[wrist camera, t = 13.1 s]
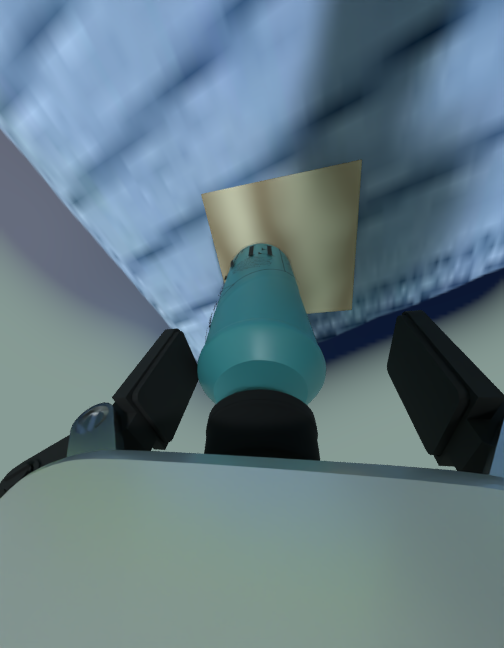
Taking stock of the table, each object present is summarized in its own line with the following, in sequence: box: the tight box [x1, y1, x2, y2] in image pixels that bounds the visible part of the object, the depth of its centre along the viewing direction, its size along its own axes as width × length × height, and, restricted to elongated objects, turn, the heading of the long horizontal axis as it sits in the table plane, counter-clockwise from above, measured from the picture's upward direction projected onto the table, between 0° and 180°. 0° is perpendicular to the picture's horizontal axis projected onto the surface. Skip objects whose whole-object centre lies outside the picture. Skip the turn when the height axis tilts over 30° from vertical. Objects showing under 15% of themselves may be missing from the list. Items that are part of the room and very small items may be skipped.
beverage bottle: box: [197, 242, 326, 461], centre depth 15 cm, size 6×7×20 cm
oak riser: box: [201, 160, 362, 314], centre depth 25 cm, size 14×14×5 cm
